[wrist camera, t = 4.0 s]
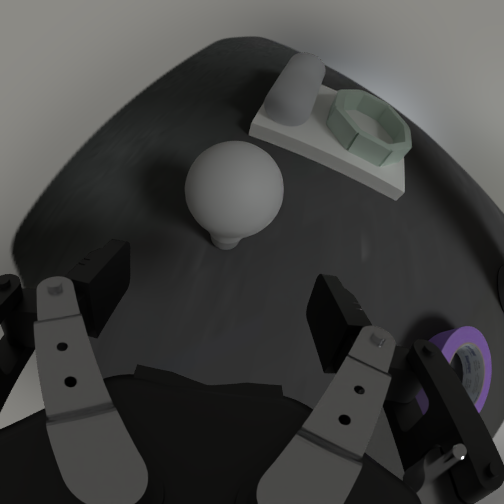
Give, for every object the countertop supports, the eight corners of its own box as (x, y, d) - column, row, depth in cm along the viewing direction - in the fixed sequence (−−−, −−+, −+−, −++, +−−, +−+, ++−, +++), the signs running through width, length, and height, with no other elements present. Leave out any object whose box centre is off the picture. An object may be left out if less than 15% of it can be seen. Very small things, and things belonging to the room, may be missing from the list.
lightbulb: (191, 275, 23) (181, 209, 12) (189, 210, 25) (184, 120, 15) (262, 271, 24) (306, 207, 14) (254, 208, 26) (285, 123, 16)
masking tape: (398, 357, 23) (423, 354, 19) (459, 316, 26) (481, 310, 22) (416, 447, 19) (439, 453, 16) (474, 396, 22) (496, 395, 19)
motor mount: (395, 133, 35) (418, 103, 29) (395, 200, 30) (429, 168, 23) (280, 80, 35) (292, 43, 28) (248, 135, 29) (259, 87, 23)
